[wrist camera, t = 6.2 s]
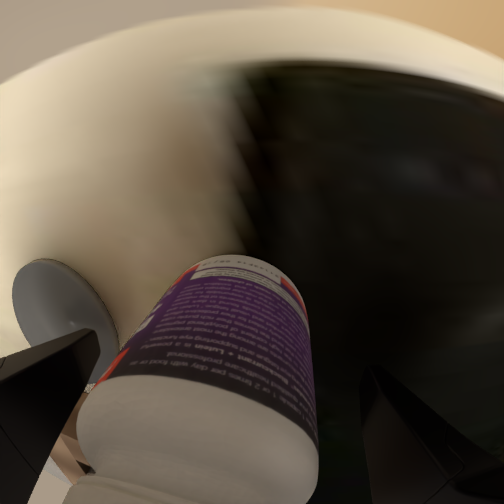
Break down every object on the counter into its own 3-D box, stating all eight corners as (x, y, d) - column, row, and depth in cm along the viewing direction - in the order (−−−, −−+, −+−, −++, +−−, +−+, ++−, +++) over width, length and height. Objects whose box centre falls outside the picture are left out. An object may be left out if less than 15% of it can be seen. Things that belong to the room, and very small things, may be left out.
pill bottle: (167, 243, 11) (-45, 450, 2) (316, 258, 10) (380, 581, 1) (174, 360, 13) (80, 553, 3) (295, 376, 12) (288, 602, 3)
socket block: (205, 493, 17) (196, 529, 14) (91, 460, 18) (76, 488, 14) (195, 422, 14) (177, 474, 10) (49, 378, 15) (21, 411, 11)
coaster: (130, 390, 14) (125, 397, 13) (37, 358, 14) (32, 364, 14) (106, 267, 11) (99, 272, 11) (8, 252, 12) (1, 256, 11)
